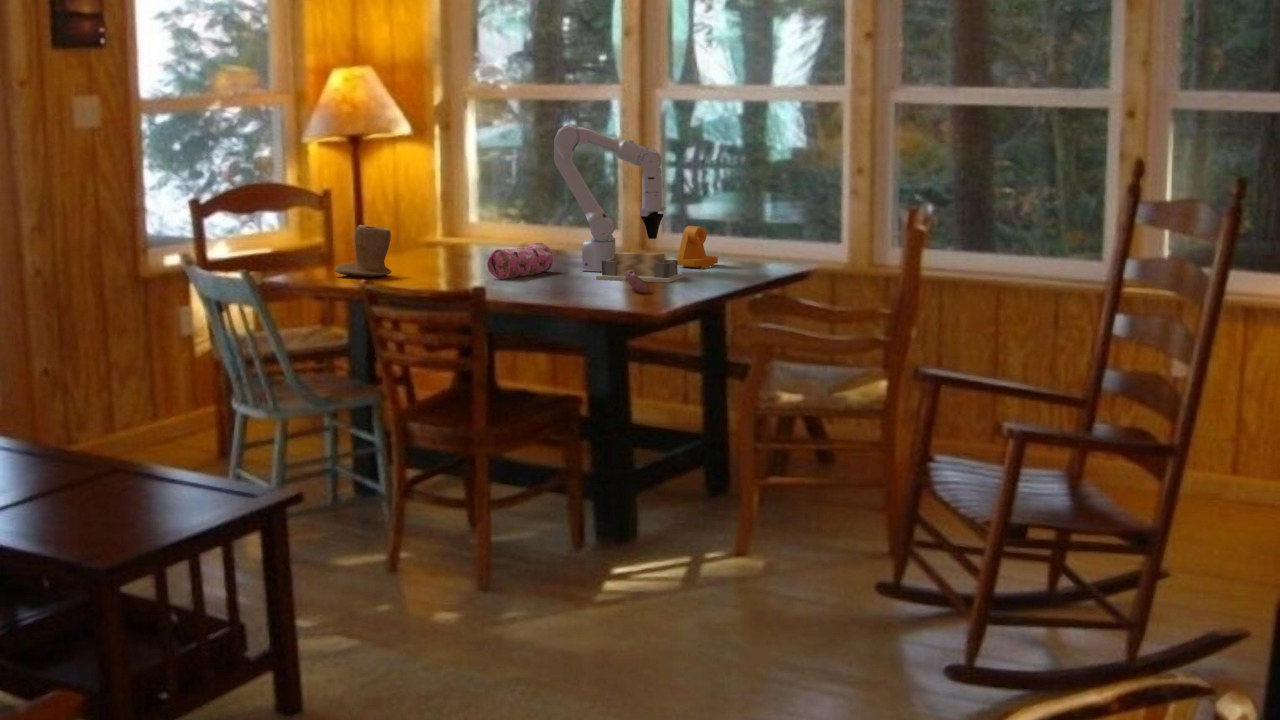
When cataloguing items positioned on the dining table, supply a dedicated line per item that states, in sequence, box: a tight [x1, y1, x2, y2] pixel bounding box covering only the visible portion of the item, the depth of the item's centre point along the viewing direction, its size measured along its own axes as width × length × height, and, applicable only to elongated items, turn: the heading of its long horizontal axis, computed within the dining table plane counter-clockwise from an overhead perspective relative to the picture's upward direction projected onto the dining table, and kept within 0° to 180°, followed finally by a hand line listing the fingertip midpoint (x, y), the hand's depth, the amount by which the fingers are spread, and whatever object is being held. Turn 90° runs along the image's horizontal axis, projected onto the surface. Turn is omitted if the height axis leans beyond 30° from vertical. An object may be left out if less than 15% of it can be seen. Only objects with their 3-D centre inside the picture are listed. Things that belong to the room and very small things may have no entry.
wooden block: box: [614, 251, 665, 276], centre depth 492 cm, size 14×4×6 cm, turn 69°
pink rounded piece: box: [624, 270, 649, 294], centre depth 469 cm, size 10×5×7 cm, turn 5°
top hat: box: [334, 224, 392, 278], centre depth 503 cm, size 15×12×15 cm
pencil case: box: [487, 242, 554, 280], centre depth 501 cm, size 21×9×9 cm, turn 146°
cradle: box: [595, 258, 684, 283], centre depth 493 cm, size 22×12×5 cm, turn 69°
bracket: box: [676, 225, 719, 269], centre depth 515 cm, size 11×7×12 cm, turn 138°
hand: (652, 238), depth 507 cm, fingers closed
